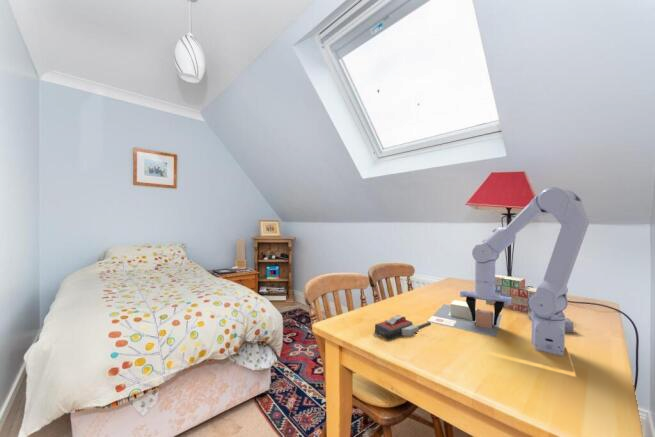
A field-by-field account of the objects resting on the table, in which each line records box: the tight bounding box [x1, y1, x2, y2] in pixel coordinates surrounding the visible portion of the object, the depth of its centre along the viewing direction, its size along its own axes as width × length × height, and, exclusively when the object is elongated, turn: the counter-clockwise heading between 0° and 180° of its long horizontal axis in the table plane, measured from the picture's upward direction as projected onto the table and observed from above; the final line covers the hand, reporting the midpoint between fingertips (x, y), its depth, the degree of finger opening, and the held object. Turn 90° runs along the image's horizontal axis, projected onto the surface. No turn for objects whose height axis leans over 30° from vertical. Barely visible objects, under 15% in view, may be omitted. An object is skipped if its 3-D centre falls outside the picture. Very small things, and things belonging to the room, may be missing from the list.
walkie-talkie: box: [374, 314, 432, 340], centre depth 88 cm, size 9×4×20 cm
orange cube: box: [476, 307, 494, 328], centre depth 91 cm, size 4×4×4 cm
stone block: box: [527, 312, 574, 334], centre depth 94 cm, size 12×5×10 cm
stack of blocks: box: [485, 274, 537, 313], centre depth 110 cm, size 21×6×12 cm, turn 36°
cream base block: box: [450, 299, 471, 319], centre depth 101 cm, size 6×6×4 cm
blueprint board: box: [426, 303, 503, 338], centre depth 97 cm, size 24×20×1 cm
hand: (484, 322), depth 91 cm, fingers open, 5 cm apart
